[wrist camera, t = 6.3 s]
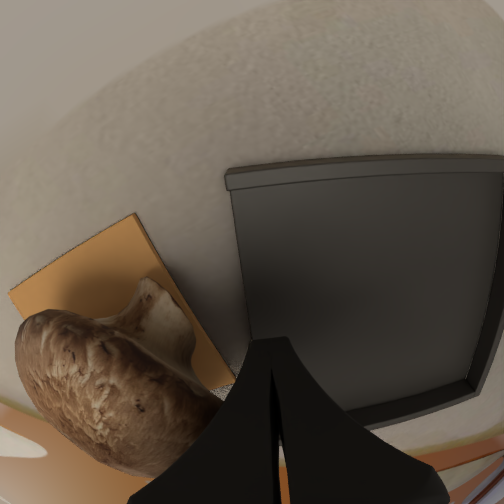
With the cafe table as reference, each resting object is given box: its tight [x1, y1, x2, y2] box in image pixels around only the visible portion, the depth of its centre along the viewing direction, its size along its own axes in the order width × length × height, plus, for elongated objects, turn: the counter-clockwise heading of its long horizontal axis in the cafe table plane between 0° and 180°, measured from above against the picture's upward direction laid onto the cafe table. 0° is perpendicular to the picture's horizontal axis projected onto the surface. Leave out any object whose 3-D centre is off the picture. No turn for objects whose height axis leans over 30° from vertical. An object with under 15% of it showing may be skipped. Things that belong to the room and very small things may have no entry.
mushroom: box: [15, 276, 224, 478], centre depth 10 cm, size 8×8×6 cm
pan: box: [224, 154, 504, 446], centre depth 11 cm, size 14×12×2 cm
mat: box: [8, 213, 236, 390], centre depth 12 cm, size 8×8×1 cm
